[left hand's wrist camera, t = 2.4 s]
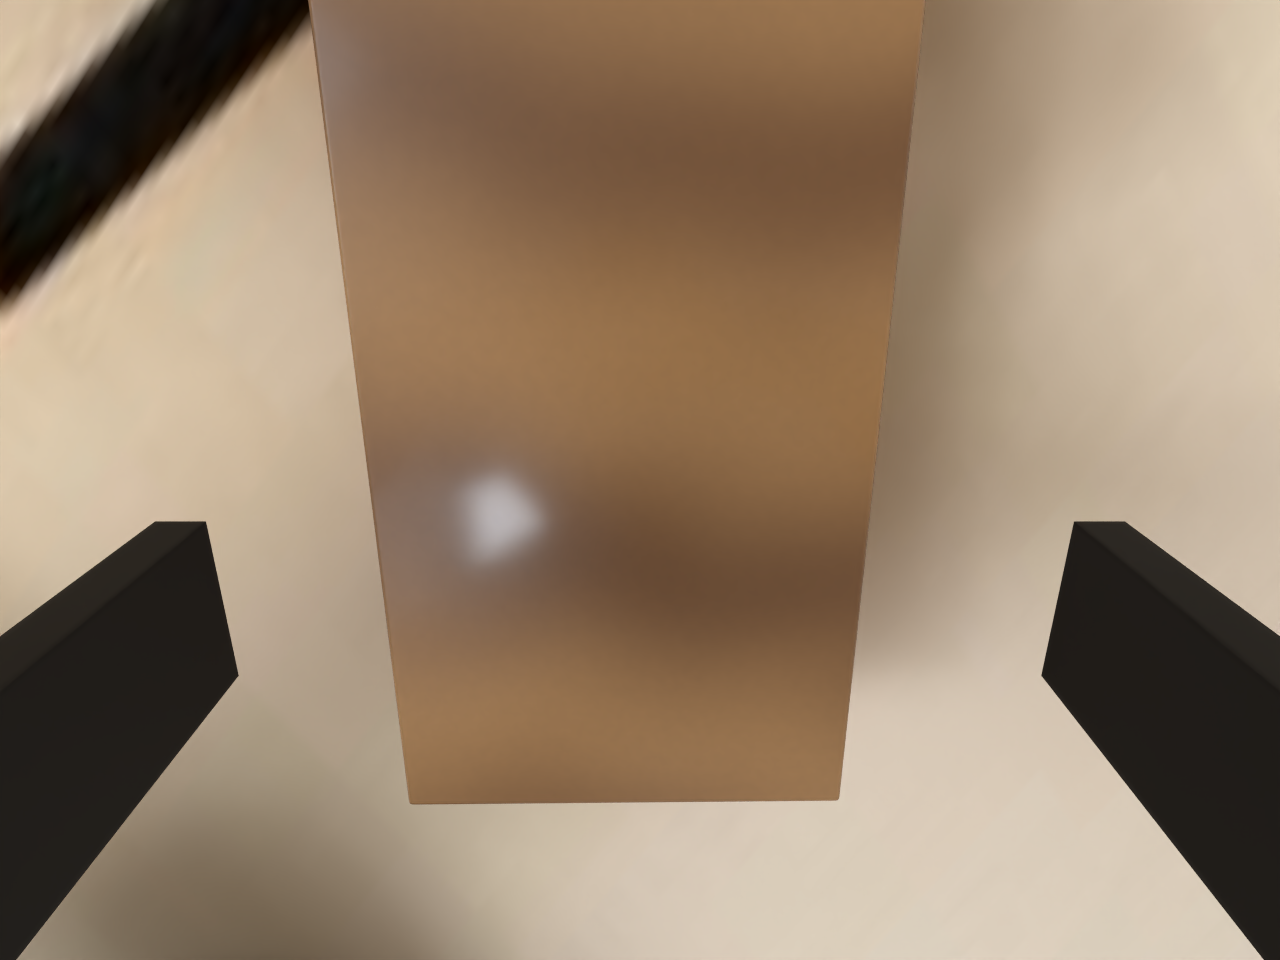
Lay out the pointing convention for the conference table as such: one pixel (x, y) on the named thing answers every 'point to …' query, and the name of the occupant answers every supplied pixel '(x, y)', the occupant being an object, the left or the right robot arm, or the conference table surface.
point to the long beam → (620, 377)
